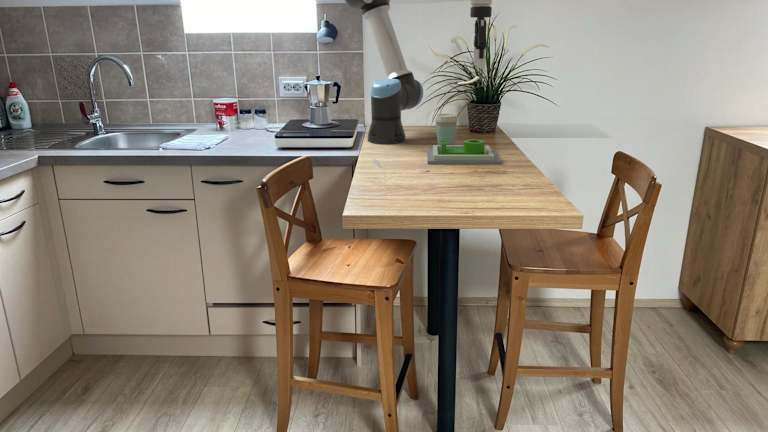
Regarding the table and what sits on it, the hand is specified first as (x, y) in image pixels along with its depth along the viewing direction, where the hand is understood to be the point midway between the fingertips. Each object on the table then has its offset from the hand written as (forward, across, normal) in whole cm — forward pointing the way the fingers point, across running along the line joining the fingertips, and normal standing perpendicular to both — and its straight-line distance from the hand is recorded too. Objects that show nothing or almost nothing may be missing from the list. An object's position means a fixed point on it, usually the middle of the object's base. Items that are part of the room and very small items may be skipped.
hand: (478, 66), depth 217 cm
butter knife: (+29, -42, +34) cm, 61 cm away
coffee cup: (+29, -8, +12) cm, 32 cm away
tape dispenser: (+28, -25, +7) cm, 38 cm away
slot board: (+29, -25, +7) cm, 39 cm away
